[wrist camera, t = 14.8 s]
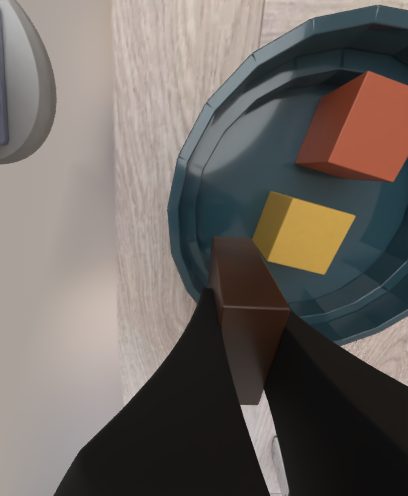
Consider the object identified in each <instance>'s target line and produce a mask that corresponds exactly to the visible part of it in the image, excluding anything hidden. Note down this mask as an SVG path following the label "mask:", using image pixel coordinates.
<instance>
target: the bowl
mask: <svg viewBox="0 0 408 496" xmlns="http://www.w3.org/2000/svg"><path fill="white" fill-rule="evenodd" d="M367 71H370V72H373V73H376V74H378V75H381V76H384V77H386V78H389V79H392V80H394V81H397V82H399V83H402V84H405V85H407V86H408V10H404V9H398V8H393V7H388V6H383V5H378V6H377V5H374V6H369V7H364V8H359V9H354V10H349V11H345V12H340V13H335V14H330V15H325V16H320V17H315V18H313V19H309V20H308V21H306V22H304V23H303V24H301V25H299V26H298V27H296V28H294V29H292V30H291V31H289V32H287V33H286V34H284V35H282V36H280V37H279V38H277V39H275V40H274V41H272V42H270V43H269V44H267V45H265V46H263V47H262V48H260V49H258V50H257V51H255V52H253V53H252V54H251V55H250V56H249V57H248V58H247V59H246V60H245V61H244V62H243V63H242V64H241V65H240V66H239V67H238V69H237V70H236V71H235V72H234V73H233V74H232V75H231V76H230V77H229V78H228V79H227V80H226V81H225V82H224V84H223V85H222V86H221V87H220V88H219V89H218V90H217V91H216V92H215V93H214V94H213V95H212V96H211V97H210V98H209V100H208V101H207V102H206V104H205V105H204V107H203V109H202V111H201V113H200V115H199V116H198V118H197V120H196V122H195V124H194V126H193V128H192V130H191V132H190V134H189V136H188V138H187V140H186V142H185V144H184V146H183V147H182V149H181V151H180V153H179V155H178V158H177V163H176V168H175V173H174V178H173V182H172V187H171V192H170V197H169V202H168V209H167V212H168V224H169V235H170V246H171V254H172V257H173V259H174V262H175V264H176V267H177V269H178V271H179V274H180V276H181V279H182V281H183V284H184V286H185V288H186V290H187V292H188V293H189V294H190V295H191V297H192V298H193V299H194V300H195V301H196V303H197V304H198V302H199V299H200V293H201V290H202V289H203V288H207V287H208V276H209V265H210V255H211V244H212V237H213V236H220V237H238V238H251V239H253V236H254V233H255V231H256V228H257V225H258V222H259V220H260V217H261V214H262V212H263V209H264V206H265V203H266V201H267V198H268V195H269V193H270V191H273V192H277V193H280V194H284V195H287V196H291V197H294V198H298V199H301V200H305V201H308V202H312V203H315V204H319V205H322V206H325V207H329V208H332V209H335V210H339V211H342V212H346V213H349V214H352V215H355V219H354V221H353V223H352V224H351V226H350V228H349V230H348V232H347V234H346V236H345V238H344V239H343V241H342V243H341V245H340V247H339V249H338V251H337V252H336V254H335V256H334V258H333V260H332V262H331V264H330V266H329V267H328V269H327V271H326V273H325V274H324V275H323V274H318V273H314V272H310V271H306V270H302V269H298V268H294V267H290V266H285V265H281V264H277V263H273V262H269V261H267V260H266V259H265V257H264V256H263V255H262V253H261V252H260V251H259V249H258V248H257V249H258V251H259V253H260V255H261V256H262V258H263V260H264V262H265V264H266V265H267V267H268V269H269V271H270V273H271V274H272V276H273V278H274V280H275V282H276V283H277V285H278V287H279V289H280V291H281V292H282V294H283V296H284V298H285V300H286V301H287V303H288V305H289V307H290V310H291V311H293V312H294V313H295V314H296V315H298V316H299V317H300V318H301V319H303V320H304V321H305V322H306V323H308V324H309V325H310V326H312V327H313V328H314V329H316V330H317V331H319V332H320V333H321V334H323V335H324V336H326V337H327V338H328V339H330V340H331V341H333V342H334V343H336V344H337V345H339V346H343V345H345V344H348V343H351V342H354V341H357V340H360V339H362V338H365V337H368V336H371V335H374V334H377V333H379V332H381V331H383V330H385V329H387V328H388V327H390V326H392V325H393V324H395V323H397V322H399V321H400V320H402V319H404V318H406V317H407V316H408V157H407V159H406V161H405V162H404V164H403V166H402V168H401V169H400V171H399V173H398V175H397V177H396V178H395V180H394V182H380V181H366V180H351V179H343V178H340V177H336V176H333V175H330V174H326V173H323V172H320V171H317V170H313V169H310V168H307V167H303V166H300V165H297V164H295V162H296V159H297V157H298V154H299V151H300V149H301V146H302V144H303V141H304V139H305V136H306V134H307V131H308V128H309V126H310V123H311V121H312V118H313V116H314V113H315V111H316V108H317V105H318V103H319V100H320V98H322V97H324V96H325V95H327V94H329V93H331V92H332V91H334V90H336V89H338V88H339V87H341V86H343V85H344V84H346V83H348V82H350V81H351V80H353V79H355V78H357V77H358V76H360V75H362V74H363V73H365V72H367Z"/></svg>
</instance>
